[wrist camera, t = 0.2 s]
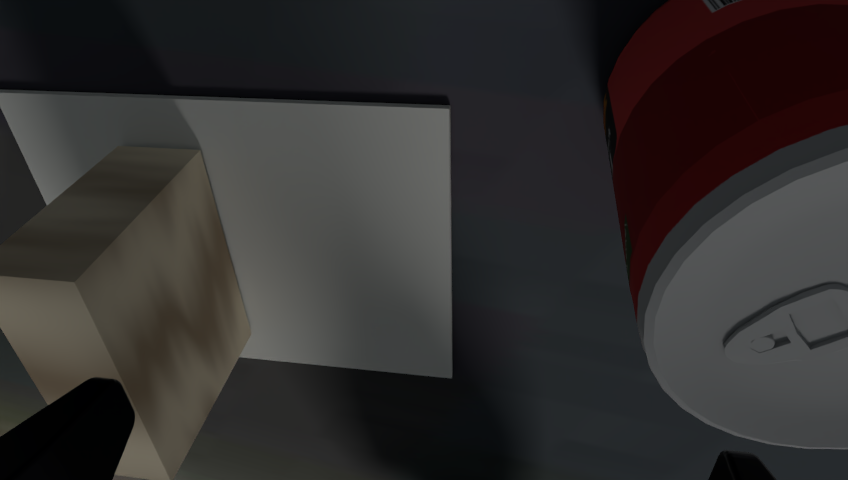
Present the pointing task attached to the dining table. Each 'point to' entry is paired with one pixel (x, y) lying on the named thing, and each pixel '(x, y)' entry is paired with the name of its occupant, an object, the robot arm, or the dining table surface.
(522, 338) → the dining table surface
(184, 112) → the white flat tray
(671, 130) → the canned food
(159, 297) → the beech slab
